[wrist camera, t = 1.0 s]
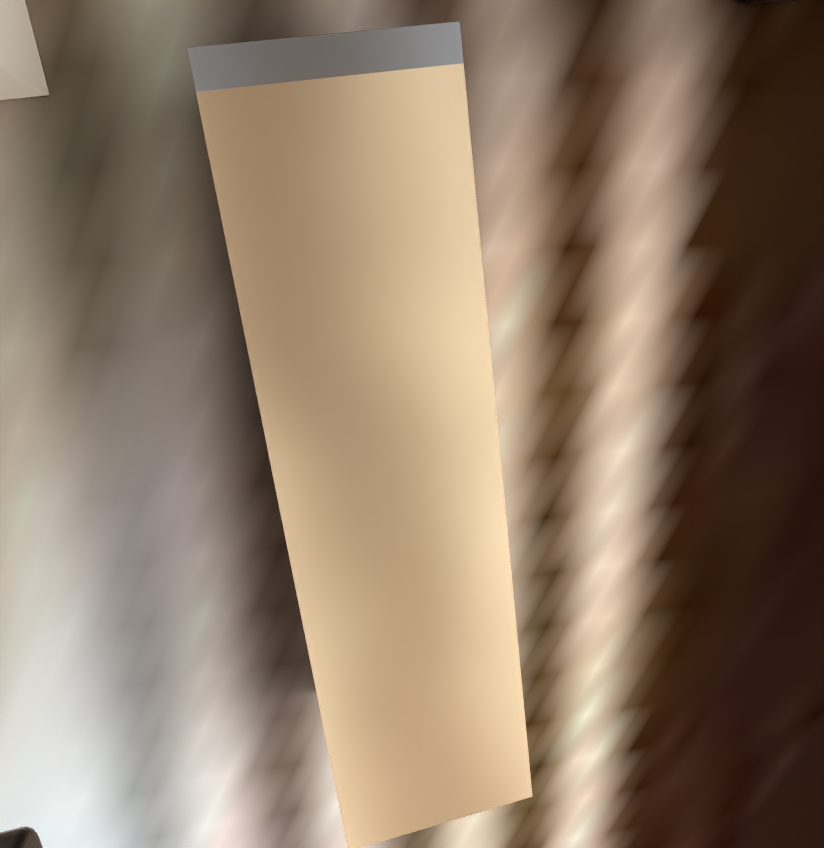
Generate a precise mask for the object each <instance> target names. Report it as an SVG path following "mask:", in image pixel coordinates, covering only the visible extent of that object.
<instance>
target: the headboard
mask: <svg viewBox="0 0 824 848" xmlns="http://www.w3.org/2000/svg"><path fill="white" fill-rule="evenodd" d="M45 95H49V91H48V87H47V83H46V80H45V76H44V72H43V68H42V64H41V60H40V56H39V53H38V49H37V45H36V41H35V37H34V33H33V29H32V26H31V22H30V18H29V14H28V10H27V6H26V2H25V0H0V100H6V99H16V98H26V97H35V96H45Z"/></svg>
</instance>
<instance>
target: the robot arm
mask: <svg viewBox="0 0 824 848" xmlns="http://www.w3.org/2000/svg"><path fill="white" fill-rule="evenodd" d="M743 1H745V2H746V3H747V4H754V5H756V4H766V3H776V2H786V1H796V0H743ZM0 848H43V847H42V845H41V842H40V839H39V837H38V835H37V833H36V832H35V831H34V829H32V828H30V827H20V828H17V829H13V830H9V831H5V832H1V833H0Z"/></svg>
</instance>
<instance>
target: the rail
mask: <svg viewBox="0 0 824 848" xmlns="http://www.w3.org/2000/svg"><path fill="white" fill-rule="evenodd" d="M187 51H188V56H189V61H190V66H191V71H192V76H193V81H194V86H195V91H196V96H197V101H198V106H199V111H200V116H201V121H202V126H203V131H204V136H205V141H206V146H207V150H208V155H209V160H210V165H211V170H212V175H213V180H214V185H215V190H216V195H217V200H218V205H219V210H220V215H221V220H222V225H223V230H224V235H225V240H226V245H227V250H228V255H229V260H230V265H231V270H232V275H233V280H234V285H235V290H236V295H237V300H238V305H239V310H240V315H241V320H242V325H243V330H244V335H245V340H246V345H247V349H248V354H249V359H250V364H251V369H252V374H253V379H254V384H255V389H256V394H257V399H258V404H259V409H260V414H261V419H262V424H263V429H264V434H265V439H266V444H267V449H268V454H269V459H270V464H271V469H272V474H273V479H274V484H275V489H276V494H277V499H278V504H279V509H280V514H281V519H282V524H283V529H284V534H285V539H286V544H287V548H288V553H289V558H290V563H291V568H292V573H293V578H294V583H295V588H296V593H297V598H298V603H299V608H300V613H301V618H302V623H303V628H304V633H305V638H306V643H307V648H308V653H309V658H310V663H311V668H312V673H313V678H314V683H315V688H316V693H317V698H318V703H319V708H320V713H321V718H322V723H323V728H324V733H325V738H326V743H327V747H328V752H329V757H330V762H331V767H332V772H333V777H334V782H335V787H336V792H337V797H338V802H339V807H340V812H341V817H342V822H343V827H344V832H345V837H346V842H347V847H348V848H361V847H364V846H368V845H371V844H374V843H378V842H381V841H384V840H388V839H391V838H395V837H398V836H401V835H405V834H408V833H411V832H415V831H418V830H421V829H425V828H428V827H431V826H435V825H438V824H442V823H445V822H448V821H452V820H455V819H458V818H462V817H465V816H468V815H472V814H475V813H478V812H482V811H485V810H488V809H492V808H495V807H499V806H502V805H505V804H509V803H512V802H515V801H519V800H522V799H525V798H529V797H532V787H531V777H530V766H529V755H528V745H527V734H526V723H525V713H524V702H523V691H522V681H521V670H520V659H519V649H518V638H517V627H516V617H515V606H514V595H513V585H512V574H511V564H510V553H509V542H508V532H507V521H506V510H505V500H504V489H503V478H502V468H501V457H500V446H499V436H498V425H497V414H496V404H495V393H494V382H493V372H492V361H491V350H490V340H489V329H488V319H487V308H486V297H485V287H484V276H483V265H482V255H481V244H480V233H479V223H478V212H477V201H476V191H475V180H474V169H473V159H472V148H471V137H470V127H469V116H468V106H467V95H466V84H465V74H464V63H463V52H462V42H461V31H460V21H459V22H449V23H438V24H428V25H417V26H407V27H397V28H386V29H376V30H366V31H355V32H345V33H334V34H324V35H314V36H303V37H293V38H282V39H272V40H262V41H251V42H241V43H231V44H220V45H210V46H199V47H189V48H187Z"/></svg>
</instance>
